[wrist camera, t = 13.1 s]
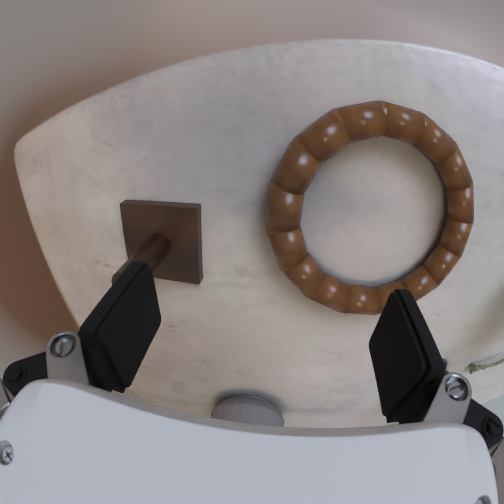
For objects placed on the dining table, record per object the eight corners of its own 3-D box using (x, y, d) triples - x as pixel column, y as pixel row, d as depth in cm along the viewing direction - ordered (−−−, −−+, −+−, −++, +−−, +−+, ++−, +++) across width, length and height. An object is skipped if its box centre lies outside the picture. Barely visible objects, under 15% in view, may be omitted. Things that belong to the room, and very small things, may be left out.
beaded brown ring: (277, 85, 19) (275, 81, 16) (480, 137, 17) (497, 141, 15) (260, 292, 28) (257, 310, 26) (428, 307, 27) (436, 322, 24)
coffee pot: (221, 418, 43) (204, 489, 30) (208, 384, 38) (183, 472, 25) (340, 420, 40) (342, 495, 27) (352, 387, 35) (360, 480, 22)
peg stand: (125, 199, 25) (74, 234, 18) (200, 203, 24) (164, 245, 17) (135, 268, 29) (97, 314, 22) (202, 278, 28) (176, 333, 21)
